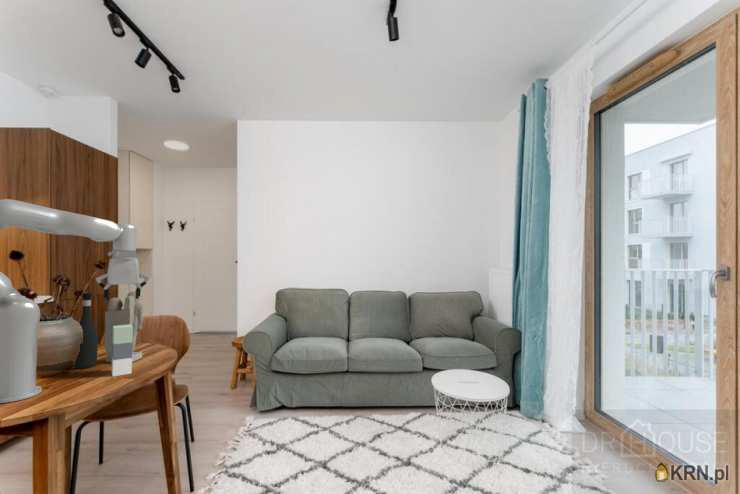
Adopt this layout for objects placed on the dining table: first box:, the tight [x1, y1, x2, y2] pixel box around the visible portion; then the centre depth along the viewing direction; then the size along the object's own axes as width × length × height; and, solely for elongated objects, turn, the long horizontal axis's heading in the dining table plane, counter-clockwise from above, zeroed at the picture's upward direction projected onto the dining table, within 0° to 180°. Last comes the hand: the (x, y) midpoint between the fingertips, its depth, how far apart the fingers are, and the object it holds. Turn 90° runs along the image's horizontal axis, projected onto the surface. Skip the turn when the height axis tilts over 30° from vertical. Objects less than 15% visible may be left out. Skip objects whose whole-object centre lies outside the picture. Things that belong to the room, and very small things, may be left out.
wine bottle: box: [72, 292, 99, 370], centre depth 149 cm, size 8×8×30 cm
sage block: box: [112, 324, 133, 344], centre depth 142 cm, size 6×6×6 cm
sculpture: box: [104, 290, 144, 363], centre depth 159 cm, size 15×8×30 cm, turn 84°
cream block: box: [111, 358, 133, 377], centre depth 142 cm, size 6×6×6 cm
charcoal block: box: [112, 342, 132, 360], centre depth 142 cm, size 6×6×6 cm
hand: (122, 299), depth 142 cm, fingers open, 9 cm apart
